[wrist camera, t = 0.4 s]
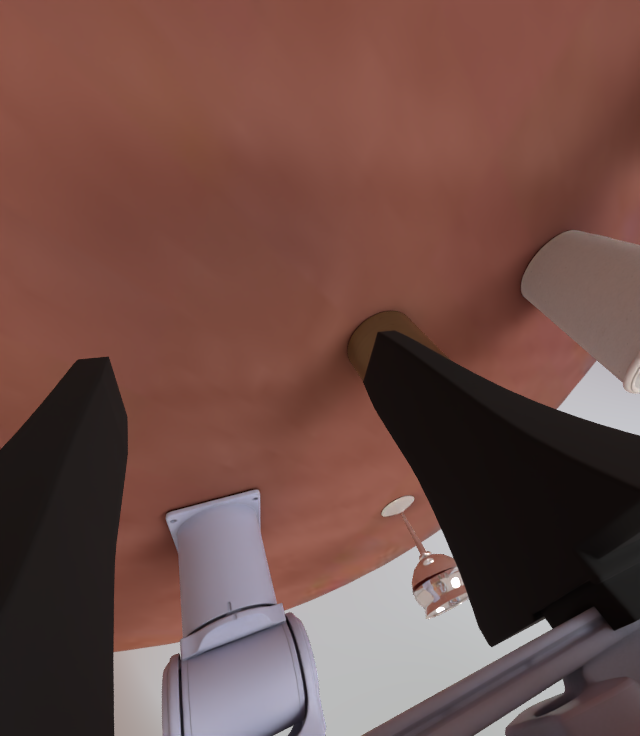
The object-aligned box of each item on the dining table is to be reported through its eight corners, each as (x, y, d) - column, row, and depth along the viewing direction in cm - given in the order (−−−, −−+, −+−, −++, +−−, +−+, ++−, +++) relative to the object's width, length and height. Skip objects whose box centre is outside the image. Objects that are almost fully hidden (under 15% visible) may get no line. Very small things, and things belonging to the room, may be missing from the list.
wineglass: (427, 497, 48) (484, 589, 40) (389, 523, 50) (437, 617, 41) (408, 487, 44) (469, 588, 35) (366, 516, 45) (416, 620, 37)
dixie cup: (557, 197, 22) (743, 260, 15) (622, 222, 26) (795, 282, 19) (486, 310, 27) (603, 397, 20) (549, 317, 31) (667, 393, 24)
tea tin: (402, 365, 28) (457, 432, 23) (339, 375, 26) (384, 450, 21) (422, 305, 24) (492, 368, 19) (352, 312, 22) (409, 383, 17)
